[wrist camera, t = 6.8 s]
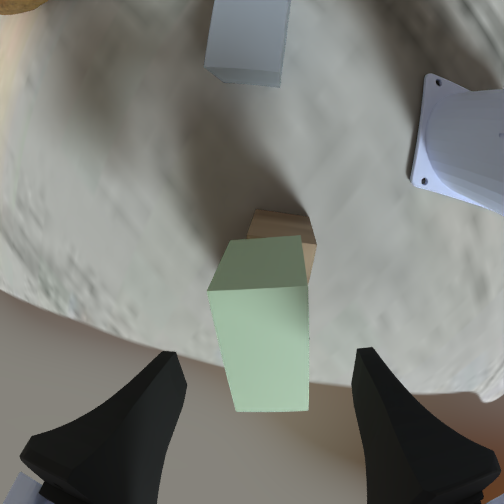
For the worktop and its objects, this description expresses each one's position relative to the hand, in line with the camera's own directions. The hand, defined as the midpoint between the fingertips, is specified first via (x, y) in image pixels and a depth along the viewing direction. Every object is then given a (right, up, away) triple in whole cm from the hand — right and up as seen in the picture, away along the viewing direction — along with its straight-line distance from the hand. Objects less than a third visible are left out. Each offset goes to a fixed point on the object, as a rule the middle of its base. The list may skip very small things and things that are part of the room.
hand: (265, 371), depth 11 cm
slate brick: (0, +18, +4) cm, 19 cm away
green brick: (+1, +2, +5) cm, 6 cm away
